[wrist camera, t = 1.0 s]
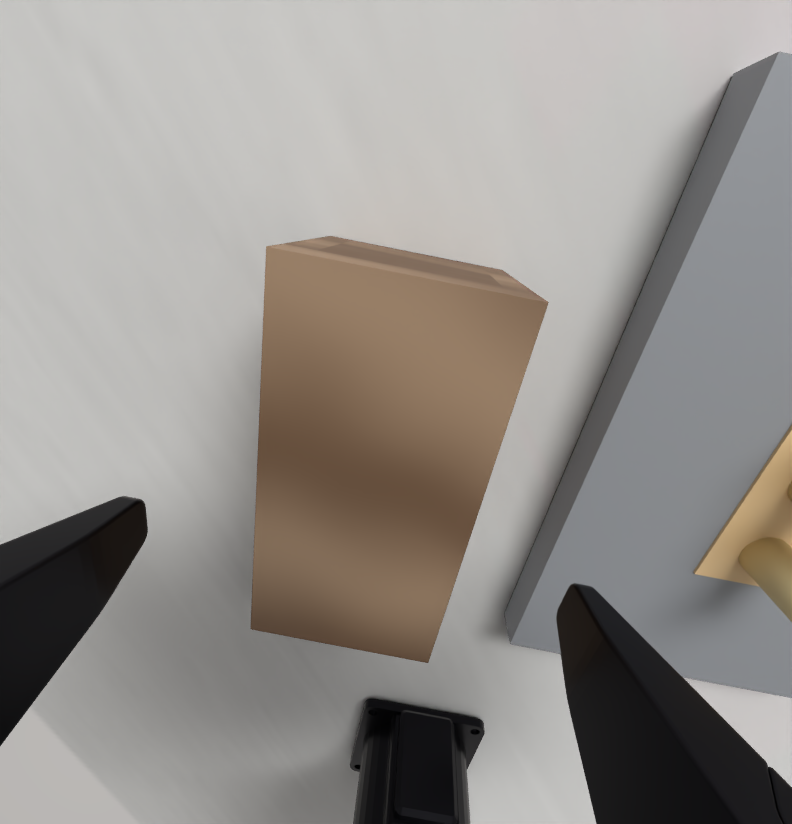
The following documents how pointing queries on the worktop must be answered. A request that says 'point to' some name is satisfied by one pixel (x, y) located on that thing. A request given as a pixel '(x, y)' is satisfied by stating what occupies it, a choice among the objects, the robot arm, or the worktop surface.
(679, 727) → the robot arm
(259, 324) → the worktop surface
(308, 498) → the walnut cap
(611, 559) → the pin board
